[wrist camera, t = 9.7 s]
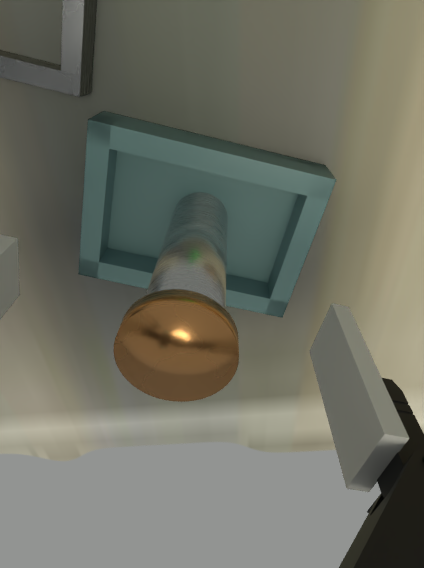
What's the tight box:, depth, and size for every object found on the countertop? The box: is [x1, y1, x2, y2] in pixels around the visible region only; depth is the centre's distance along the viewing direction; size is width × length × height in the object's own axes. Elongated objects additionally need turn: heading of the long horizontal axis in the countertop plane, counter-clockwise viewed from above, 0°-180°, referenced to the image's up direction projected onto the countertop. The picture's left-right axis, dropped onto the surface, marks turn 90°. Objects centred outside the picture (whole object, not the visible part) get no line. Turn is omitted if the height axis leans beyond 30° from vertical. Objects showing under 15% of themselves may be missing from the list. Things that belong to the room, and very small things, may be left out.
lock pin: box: [114, 192, 239, 402], centre depth 20 cm, size 4×4×13 cm
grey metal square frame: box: [0, 0, 97, 97], centre depth 20 cm, size 7×7×2 cm
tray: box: [79, 111, 336, 317], centre depth 25 cm, size 13×9×3 cm
